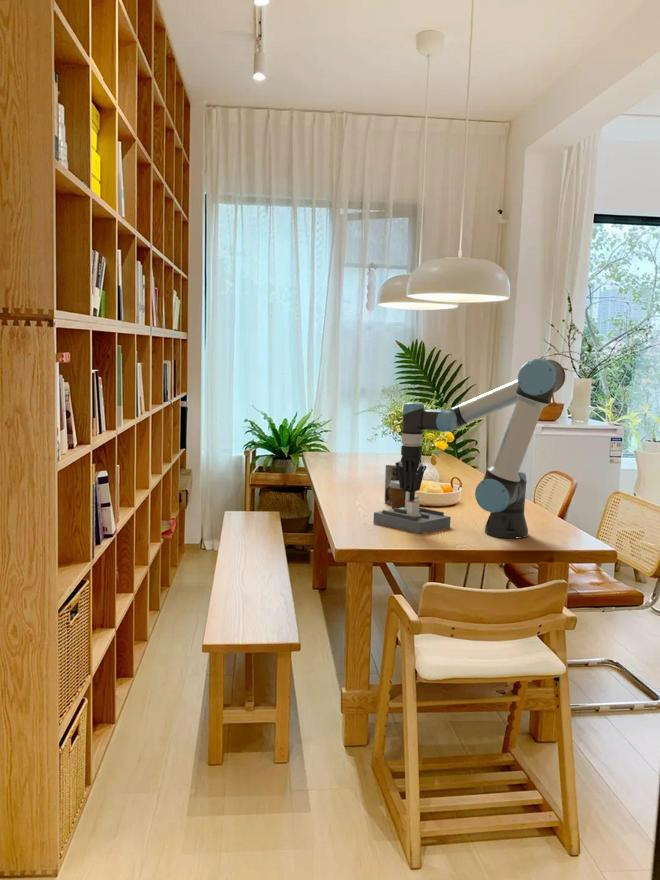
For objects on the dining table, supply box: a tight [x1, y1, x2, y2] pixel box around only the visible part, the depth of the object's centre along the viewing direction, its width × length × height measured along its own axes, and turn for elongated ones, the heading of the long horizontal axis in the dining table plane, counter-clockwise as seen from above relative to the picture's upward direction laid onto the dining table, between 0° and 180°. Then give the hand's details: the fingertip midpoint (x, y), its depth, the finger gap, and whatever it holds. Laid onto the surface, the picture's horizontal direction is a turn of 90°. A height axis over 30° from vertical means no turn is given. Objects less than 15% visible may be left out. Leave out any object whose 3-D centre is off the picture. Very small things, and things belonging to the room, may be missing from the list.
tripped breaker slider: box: [406, 500, 421, 517], centre depth 275 cm, size 4×5×6 cm
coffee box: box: [383, 464, 399, 505], centre depth 324 cm, size 9×6×16 cm
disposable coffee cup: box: [389, 480, 405, 509], centre depth 307 cm, size 10×10×12 cm
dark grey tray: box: [372, 494, 451, 534], centre depth 281 cm, size 22×18×10 cm
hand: (408, 508), depth 277 cm, fingers closed
